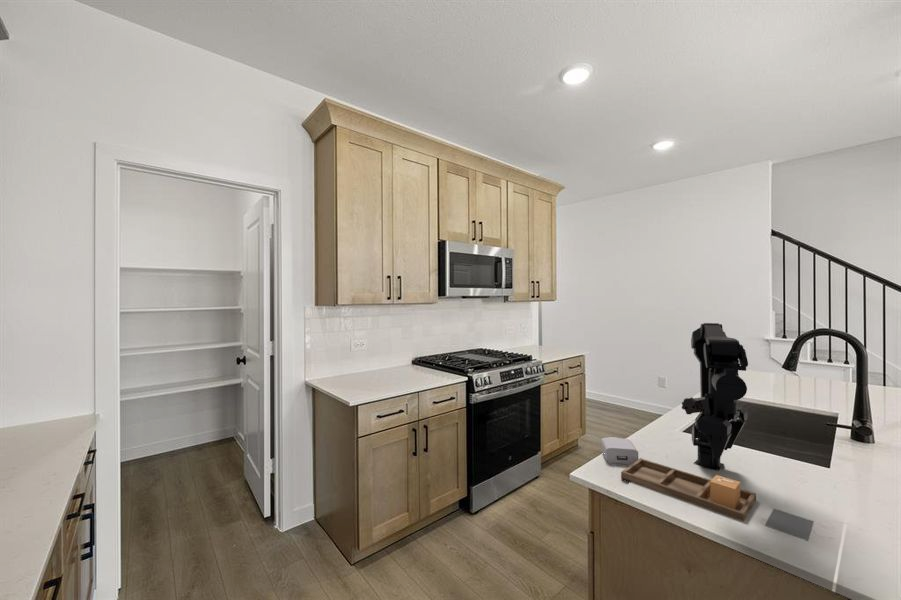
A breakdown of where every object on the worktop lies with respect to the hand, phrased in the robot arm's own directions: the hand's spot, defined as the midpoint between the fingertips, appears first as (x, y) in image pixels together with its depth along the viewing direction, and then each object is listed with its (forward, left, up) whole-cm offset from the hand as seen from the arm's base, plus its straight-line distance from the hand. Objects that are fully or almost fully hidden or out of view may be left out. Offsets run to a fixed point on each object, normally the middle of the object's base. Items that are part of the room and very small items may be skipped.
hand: (722, 453), depth 95 cm
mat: (0, +12, -13) cm, 18 cm away
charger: (-10, -31, -13) cm, 35 cm away
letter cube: (0, 0, -12) cm, 12 cm away
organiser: (0, -9, -13) cm, 15 cm away
